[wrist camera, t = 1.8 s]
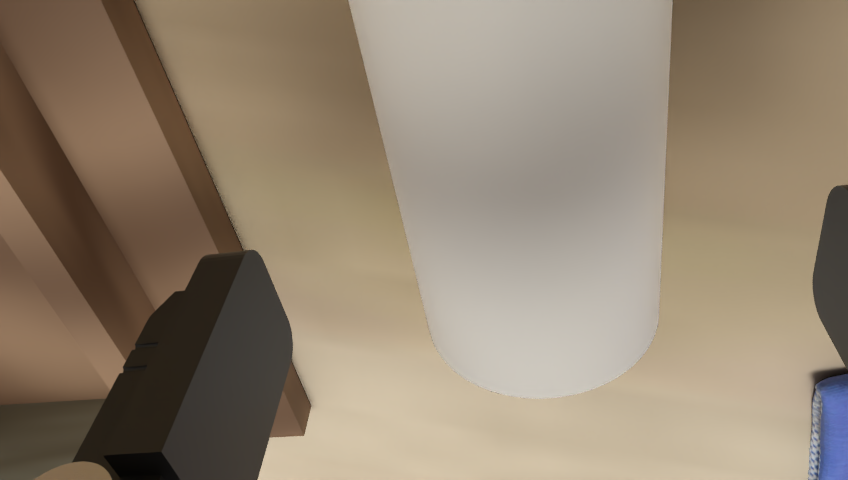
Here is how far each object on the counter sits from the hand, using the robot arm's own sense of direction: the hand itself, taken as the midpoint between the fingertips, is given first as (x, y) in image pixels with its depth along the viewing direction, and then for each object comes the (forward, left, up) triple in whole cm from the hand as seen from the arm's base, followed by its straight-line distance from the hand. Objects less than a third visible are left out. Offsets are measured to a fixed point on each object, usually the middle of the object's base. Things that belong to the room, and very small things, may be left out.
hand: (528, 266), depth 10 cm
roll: (-1, 0, -7) cm, 7 cm away
